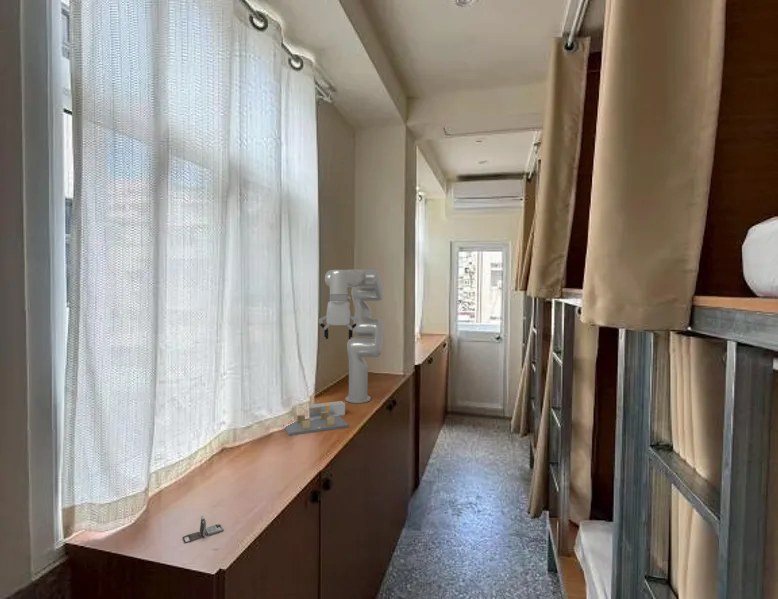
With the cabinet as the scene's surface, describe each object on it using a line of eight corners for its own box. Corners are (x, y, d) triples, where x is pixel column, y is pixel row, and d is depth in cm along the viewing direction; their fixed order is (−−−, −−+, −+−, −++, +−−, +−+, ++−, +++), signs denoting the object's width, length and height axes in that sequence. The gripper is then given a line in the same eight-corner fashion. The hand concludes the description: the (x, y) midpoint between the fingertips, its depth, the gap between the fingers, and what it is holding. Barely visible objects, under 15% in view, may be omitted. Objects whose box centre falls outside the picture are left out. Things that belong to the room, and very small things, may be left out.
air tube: (306, 416, 183) (306, 404, 183) (341, 411, 190) (341, 400, 190) (309, 419, 179) (309, 407, 179) (345, 415, 186) (345, 403, 185)
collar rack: (282, 425, 171) (282, 415, 171) (338, 417, 181) (338, 408, 181) (289, 435, 159) (289, 425, 159) (348, 427, 169) (348, 417, 169)
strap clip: (221, 526, 100) (221, 509, 100) (224, 532, 97) (224, 514, 97) (181, 538, 95) (181, 520, 95) (184, 545, 92) (184, 526, 92)
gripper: (359, 298, 181) (359, 338, 181) (319, 298, 180) (319, 337, 181) (358, 299, 173) (358, 340, 174) (316, 298, 173) (316, 339, 173)
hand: (338, 338), depth 177 cm, fingers open, 9 cm apart
